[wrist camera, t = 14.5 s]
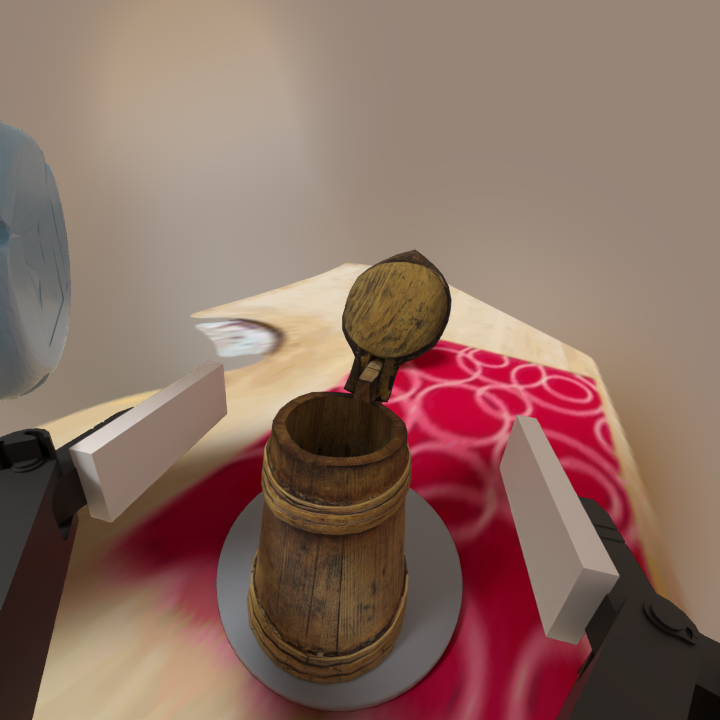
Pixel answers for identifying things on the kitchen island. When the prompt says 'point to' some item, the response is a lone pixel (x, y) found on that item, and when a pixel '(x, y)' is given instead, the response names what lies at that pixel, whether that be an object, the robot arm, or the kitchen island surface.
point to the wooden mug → (345, 490)
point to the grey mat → (419, 629)
